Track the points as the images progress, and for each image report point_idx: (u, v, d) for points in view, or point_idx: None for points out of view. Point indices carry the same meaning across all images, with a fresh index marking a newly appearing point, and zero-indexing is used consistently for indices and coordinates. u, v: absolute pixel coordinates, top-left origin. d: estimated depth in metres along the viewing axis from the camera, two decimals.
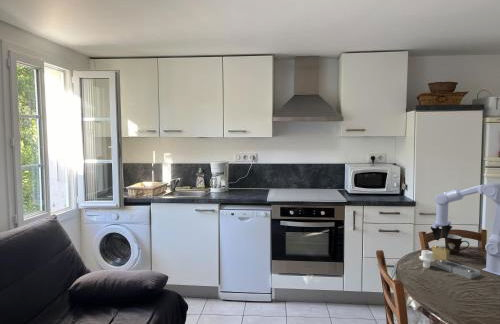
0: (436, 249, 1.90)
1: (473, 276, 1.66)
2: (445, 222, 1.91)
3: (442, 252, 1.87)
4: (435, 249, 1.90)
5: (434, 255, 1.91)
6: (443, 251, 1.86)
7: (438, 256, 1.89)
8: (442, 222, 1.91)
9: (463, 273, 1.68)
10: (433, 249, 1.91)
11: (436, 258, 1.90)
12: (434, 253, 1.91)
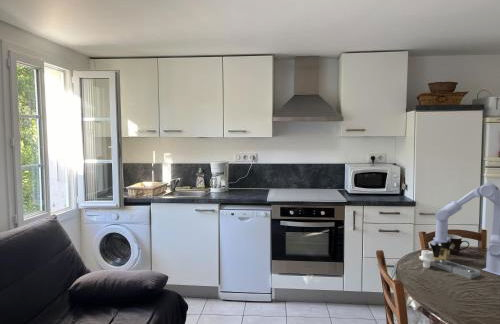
0: None
1: (473, 276, 1.66)
2: (445, 239, 1.86)
3: (442, 252, 1.87)
4: None
5: None
6: (443, 251, 1.86)
7: None
8: (442, 239, 1.86)
9: (463, 273, 1.68)
10: None
11: (436, 258, 1.90)
12: None
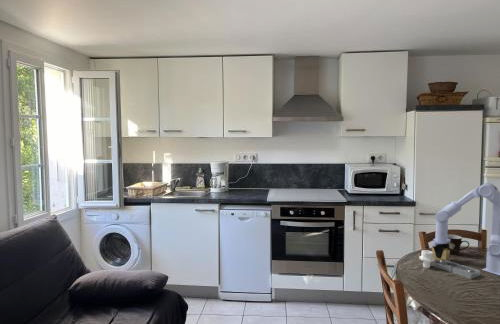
0: None
1: (473, 276, 1.66)
2: (445, 240, 1.86)
3: (442, 252, 1.87)
4: None
5: (434, 255, 1.91)
6: (443, 251, 1.86)
7: None
8: (442, 240, 1.86)
9: (463, 273, 1.68)
10: (433, 249, 1.91)
11: (436, 258, 1.90)
12: (434, 253, 1.91)
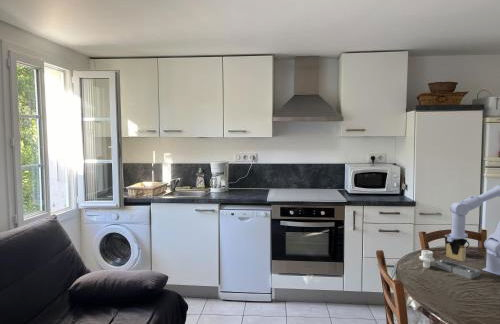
0: None
1: (473, 276, 1.66)
2: (462, 235, 1.71)
3: None
4: (450, 246, 1.75)
5: (449, 253, 1.76)
6: (459, 248, 1.71)
7: (453, 254, 1.74)
8: (459, 235, 1.71)
9: (463, 273, 1.68)
10: (448, 246, 1.76)
11: (451, 256, 1.75)
12: (449, 251, 1.76)
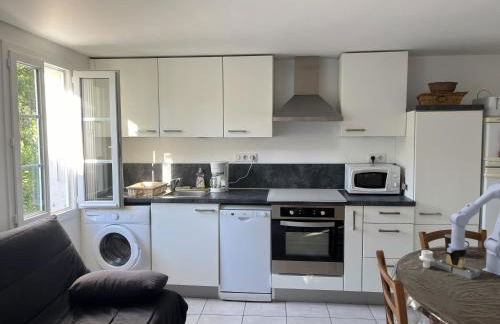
0: None
1: (473, 276, 1.66)
2: (462, 246, 1.71)
3: None
4: (450, 258, 1.75)
5: (449, 264, 1.76)
6: (459, 260, 1.72)
7: (453, 266, 1.74)
8: (458, 246, 1.71)
9: (463, 273, 1.68)
10: (447, 258, 1.76)
11: None
12: (449, 262, 1.76)
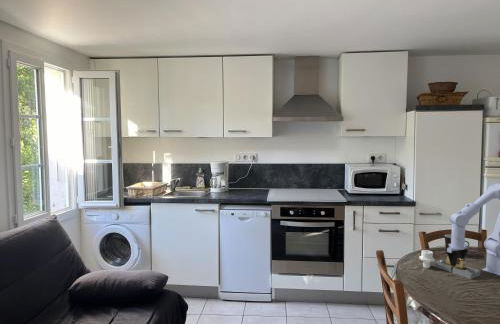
0: None
1: (473, 276, 1.66)
2: (462, 246, 1.71)
3: (457, 262, 1.72)
4: None
5: None
6: (459, 261, 1.71)
7: (453, 267, 1.74)
8: (458, 246, 1.71)
9: (463, 273, 1.68)
10: (448, 259, 1.76)
11: None
12: (449, 263, 1.76)
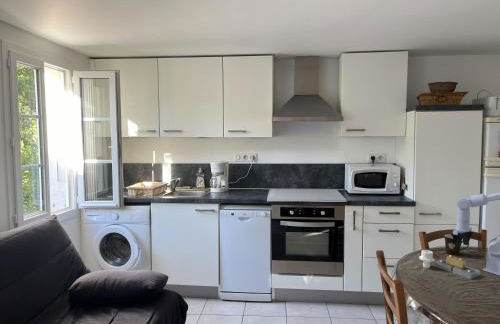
0: (451, 259, 1.75)
1: (473, 276, 1.66)
2: (467, 228, 1.79)
3: (457, 262, 1.72)
4: (450, 259, 1.75)
5: None
6: (459, 261, 1.71)
7: (453, 267, 1.74)
8: (464, 228, 1.79)
9: (463, 273, 1.68)
10: (448, 259, 1.76)
11: None
12: (449, 263, 1.76)
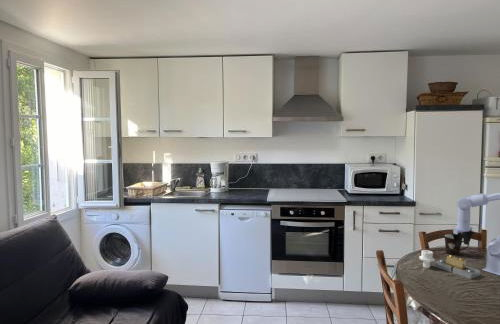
0: (451, 259, 1.75)
1: (473, 276, 1.66)
2: (467, 228, 1.80)
3: (457, 262, 1.72)
4: (450, 259, 1.75)
5: None
6: (459, 261, 1.71)
7: (453, 267, 1.74)
8: (464, 228, 1.80)
9: (463, 273, 1.68)
10: (448, 259, 1.76)
11: None
12: (449, 263, 1.76)
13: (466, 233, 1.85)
